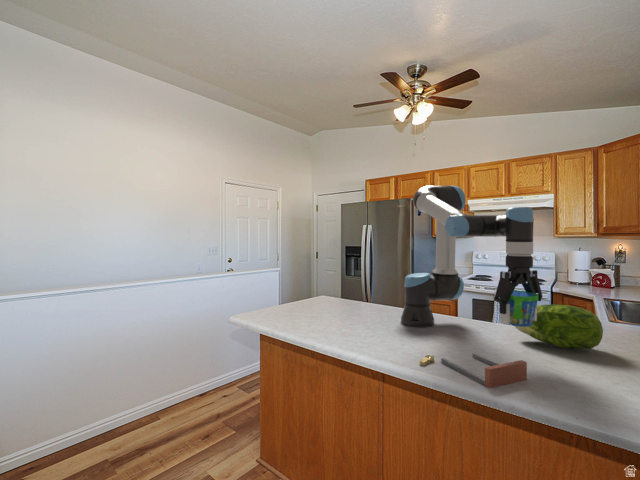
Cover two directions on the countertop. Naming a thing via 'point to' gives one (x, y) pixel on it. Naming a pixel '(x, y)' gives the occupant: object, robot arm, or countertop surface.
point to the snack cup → (522, 308)
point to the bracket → (495, 371)
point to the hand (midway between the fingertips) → (518, 321)
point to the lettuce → (565, 327)
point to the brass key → (427, 360)
